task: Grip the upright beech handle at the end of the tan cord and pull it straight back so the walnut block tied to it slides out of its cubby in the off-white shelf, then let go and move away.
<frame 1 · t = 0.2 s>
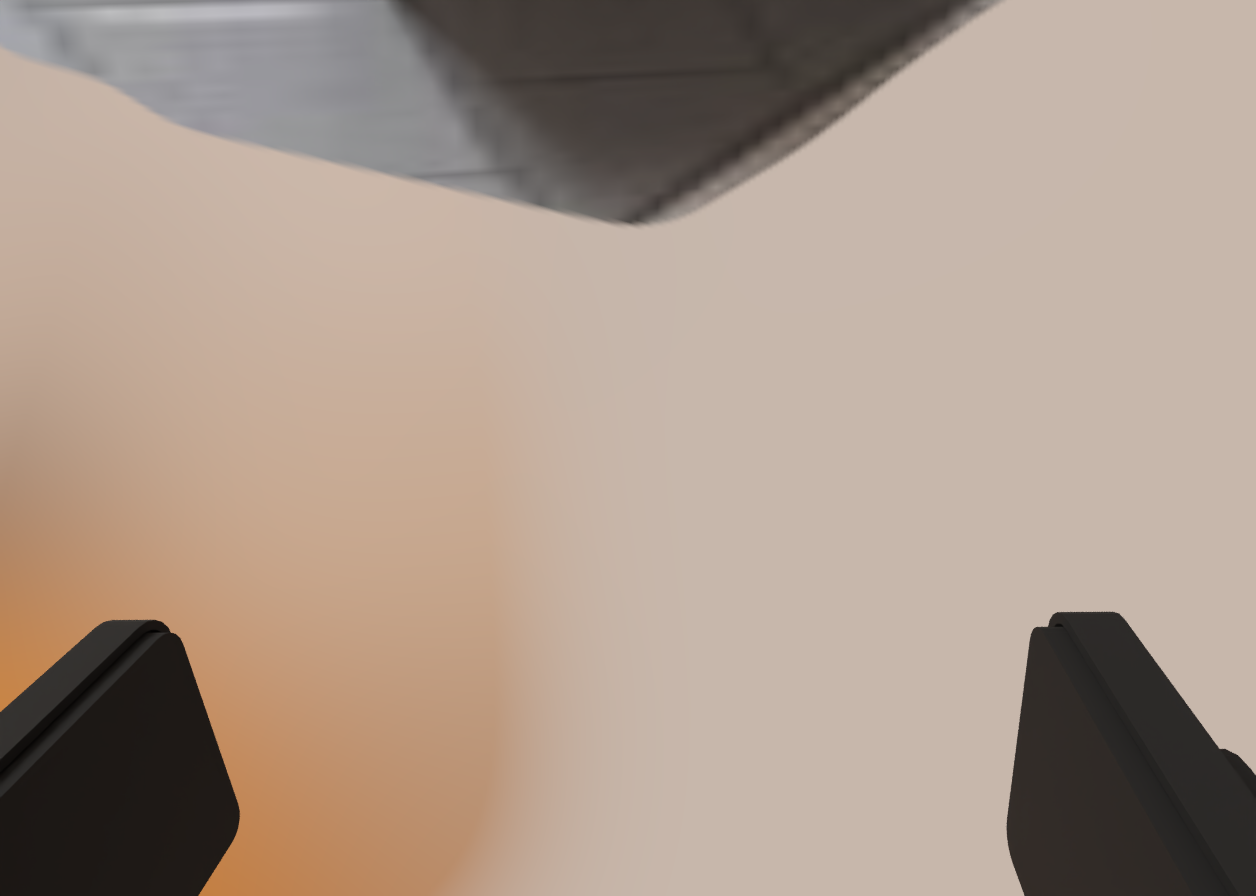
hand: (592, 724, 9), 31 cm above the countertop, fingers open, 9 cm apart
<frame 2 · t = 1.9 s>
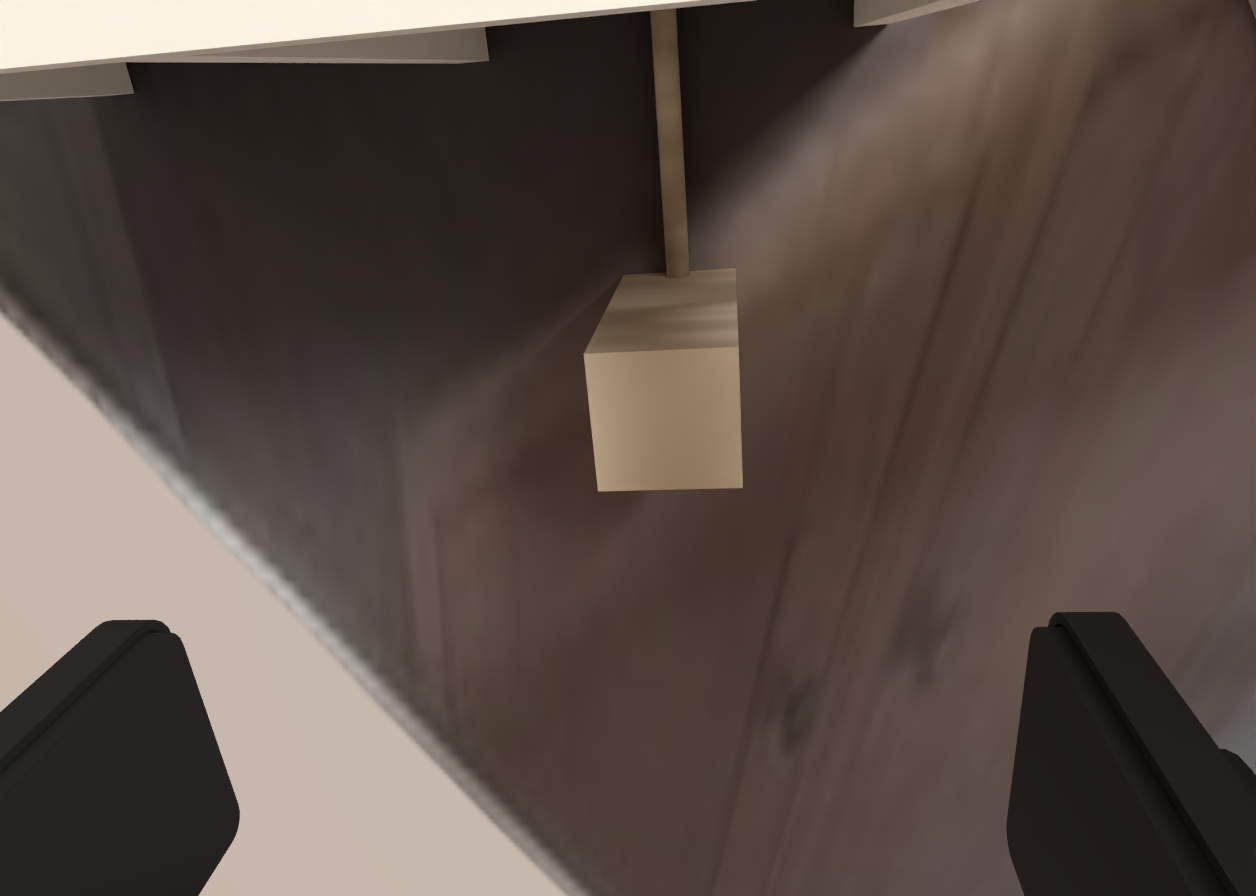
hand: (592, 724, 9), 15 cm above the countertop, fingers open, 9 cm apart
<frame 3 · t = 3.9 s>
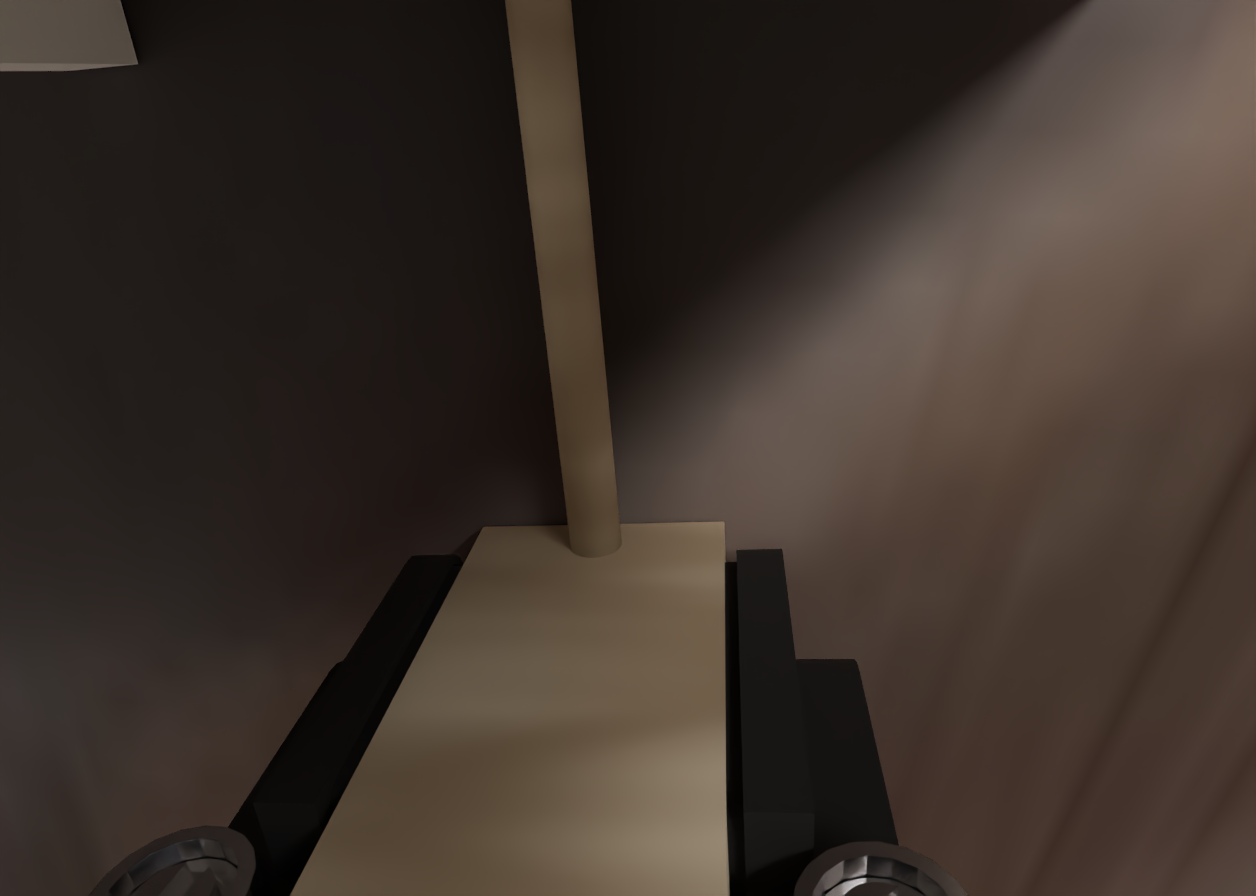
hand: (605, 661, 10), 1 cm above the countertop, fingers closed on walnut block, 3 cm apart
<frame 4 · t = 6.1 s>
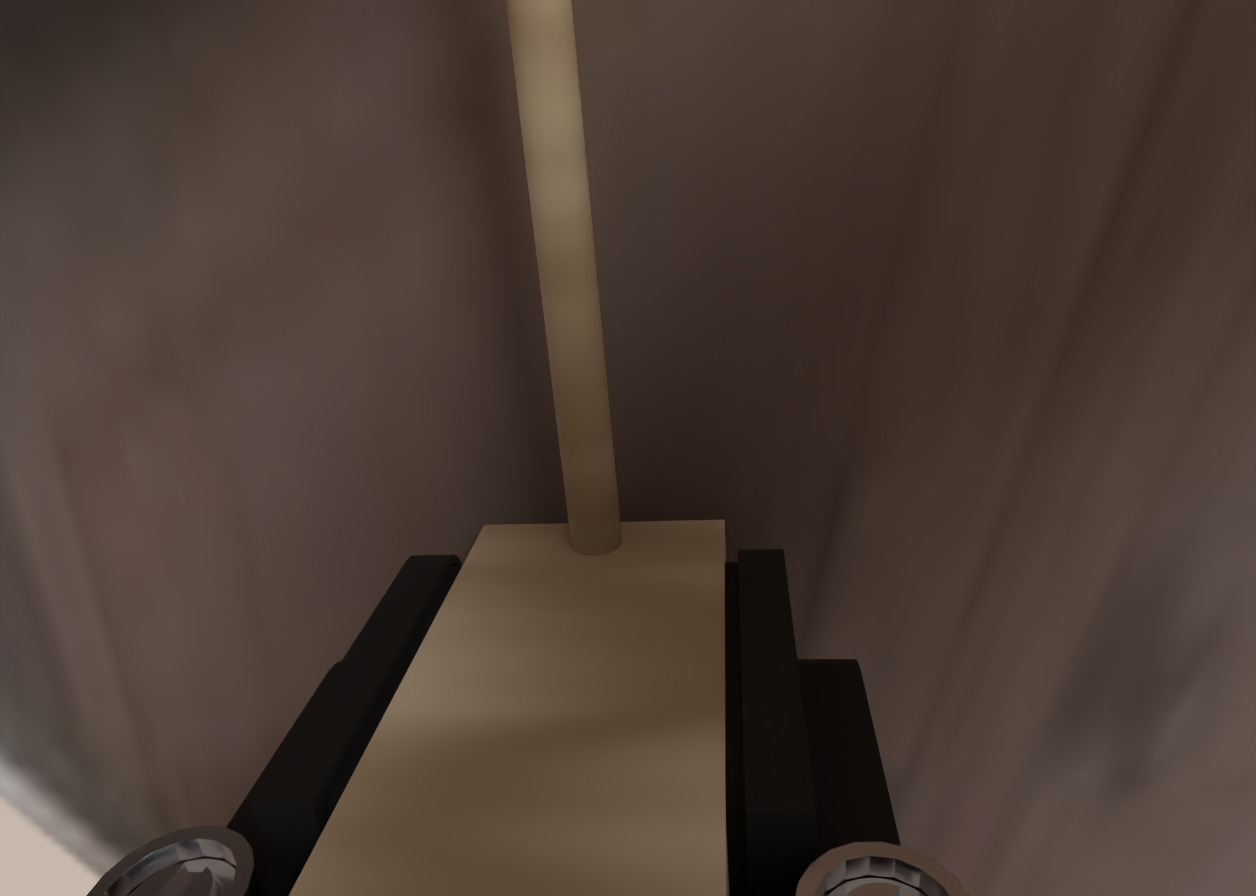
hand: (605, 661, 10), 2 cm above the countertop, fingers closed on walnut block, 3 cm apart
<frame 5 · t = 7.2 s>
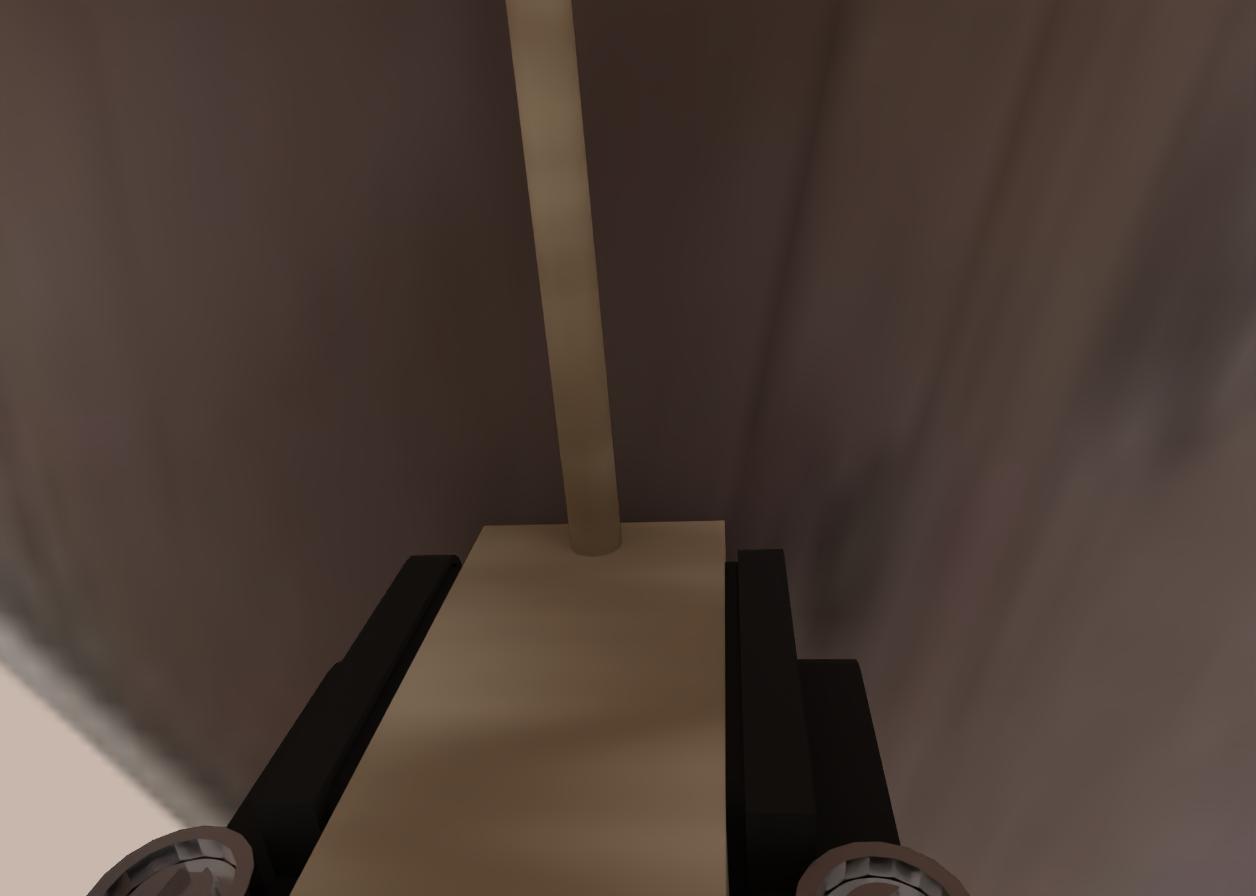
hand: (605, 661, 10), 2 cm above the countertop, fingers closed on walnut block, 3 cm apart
when the fingers open (1 cm above the countertop, at t = 8.3 s): walnut block stays where it is, on the countertop.
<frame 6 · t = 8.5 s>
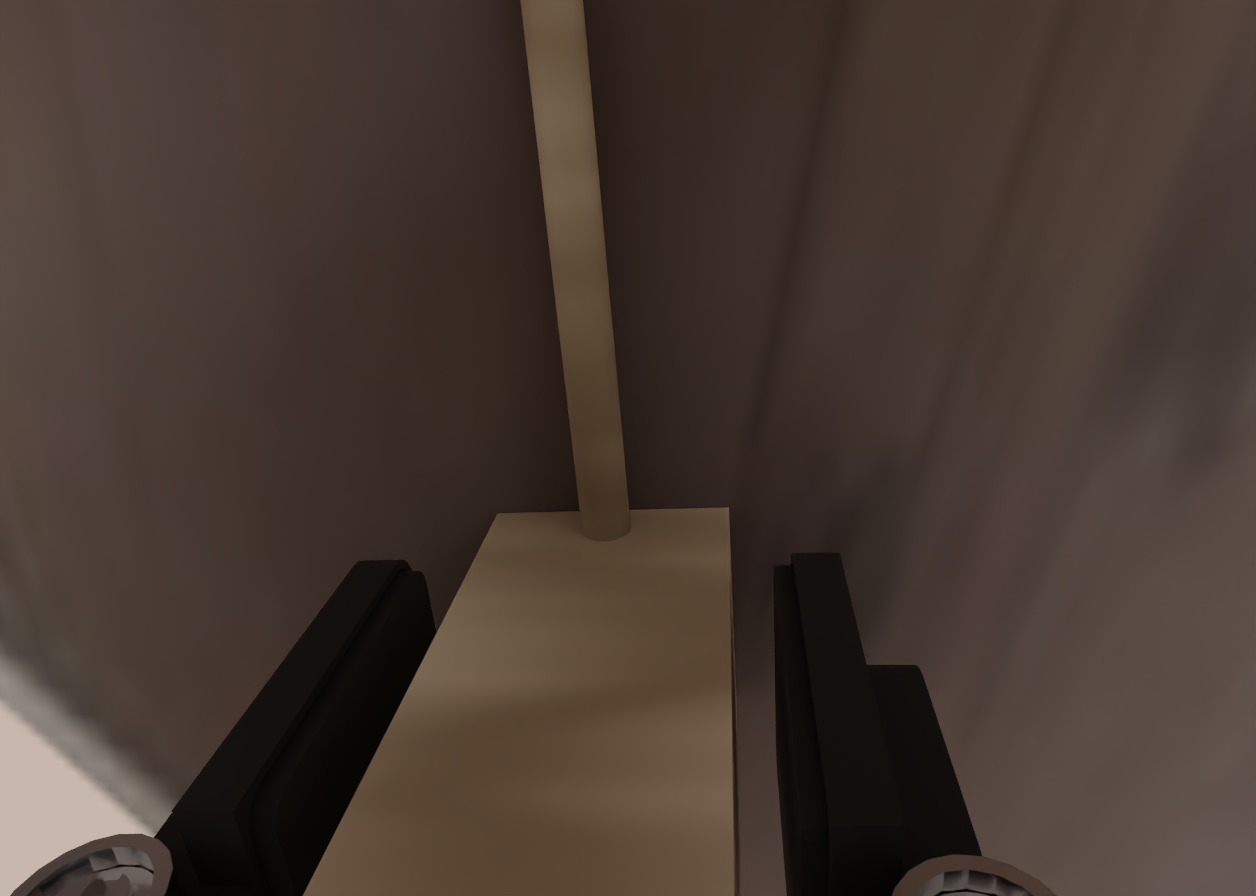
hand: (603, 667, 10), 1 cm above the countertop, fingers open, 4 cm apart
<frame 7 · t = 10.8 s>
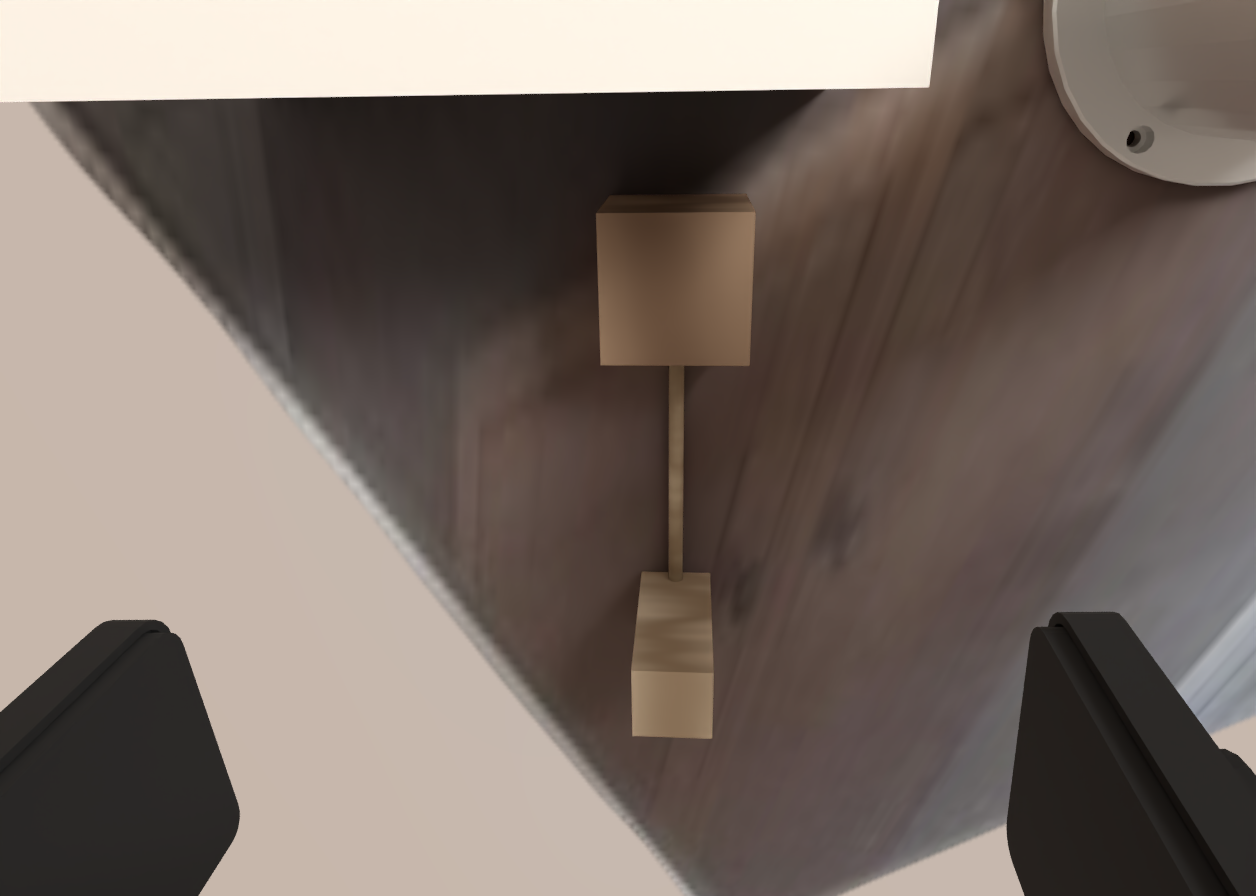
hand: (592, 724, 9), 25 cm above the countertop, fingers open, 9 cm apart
walnut block: (677, 262, 32), on the countertop
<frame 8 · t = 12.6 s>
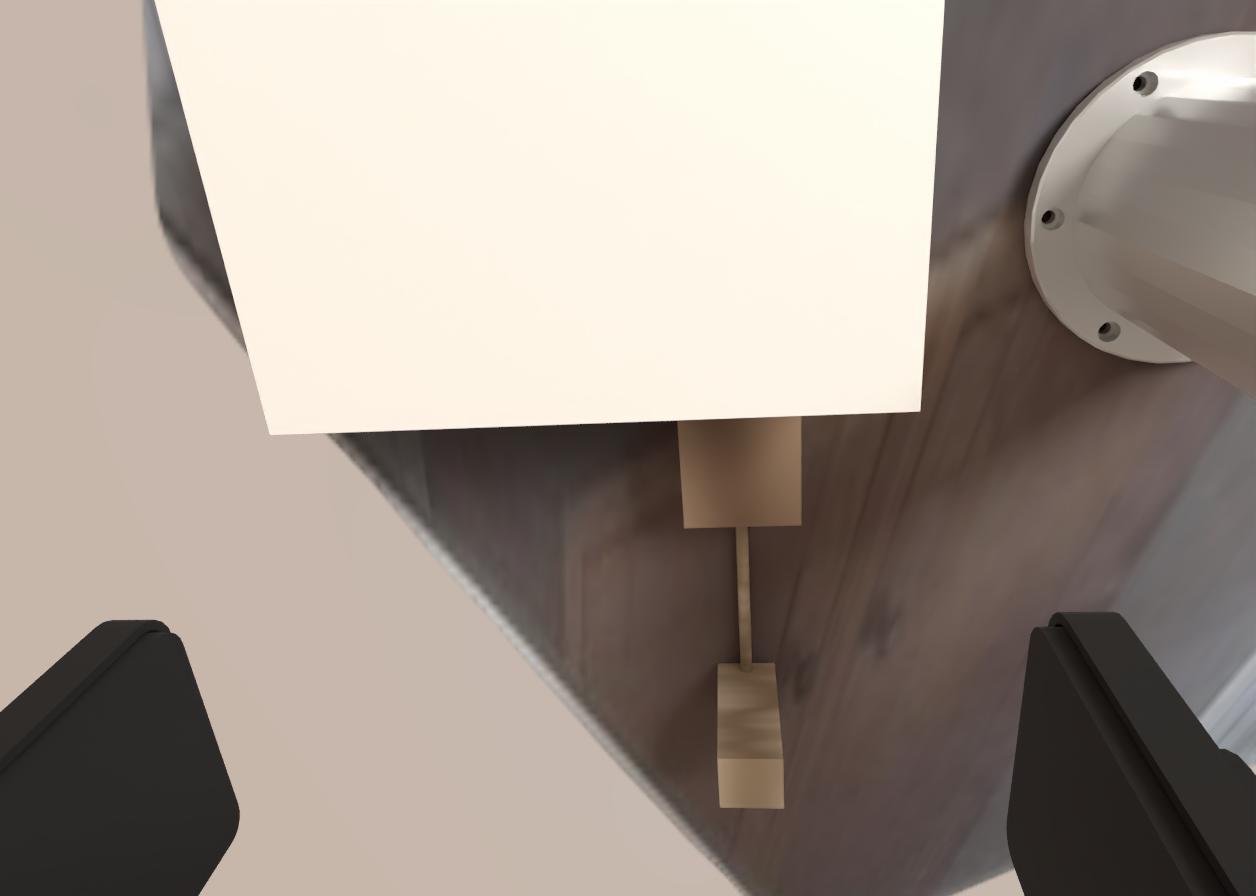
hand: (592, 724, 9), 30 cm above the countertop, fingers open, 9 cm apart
walnut block: (738, 428, 40), on the countertop
cubby shelf: (610, 119, 35), on the countertop
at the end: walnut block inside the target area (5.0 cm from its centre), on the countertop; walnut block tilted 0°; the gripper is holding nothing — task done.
